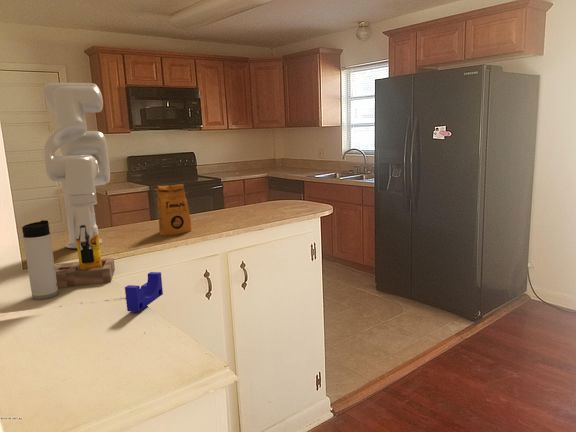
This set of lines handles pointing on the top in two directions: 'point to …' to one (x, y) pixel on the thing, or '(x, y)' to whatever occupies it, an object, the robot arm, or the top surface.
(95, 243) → the beer can
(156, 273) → the cable clip
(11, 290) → the top surface
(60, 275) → the brown wooden slotted block
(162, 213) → the coffee package
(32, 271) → the travel mug
